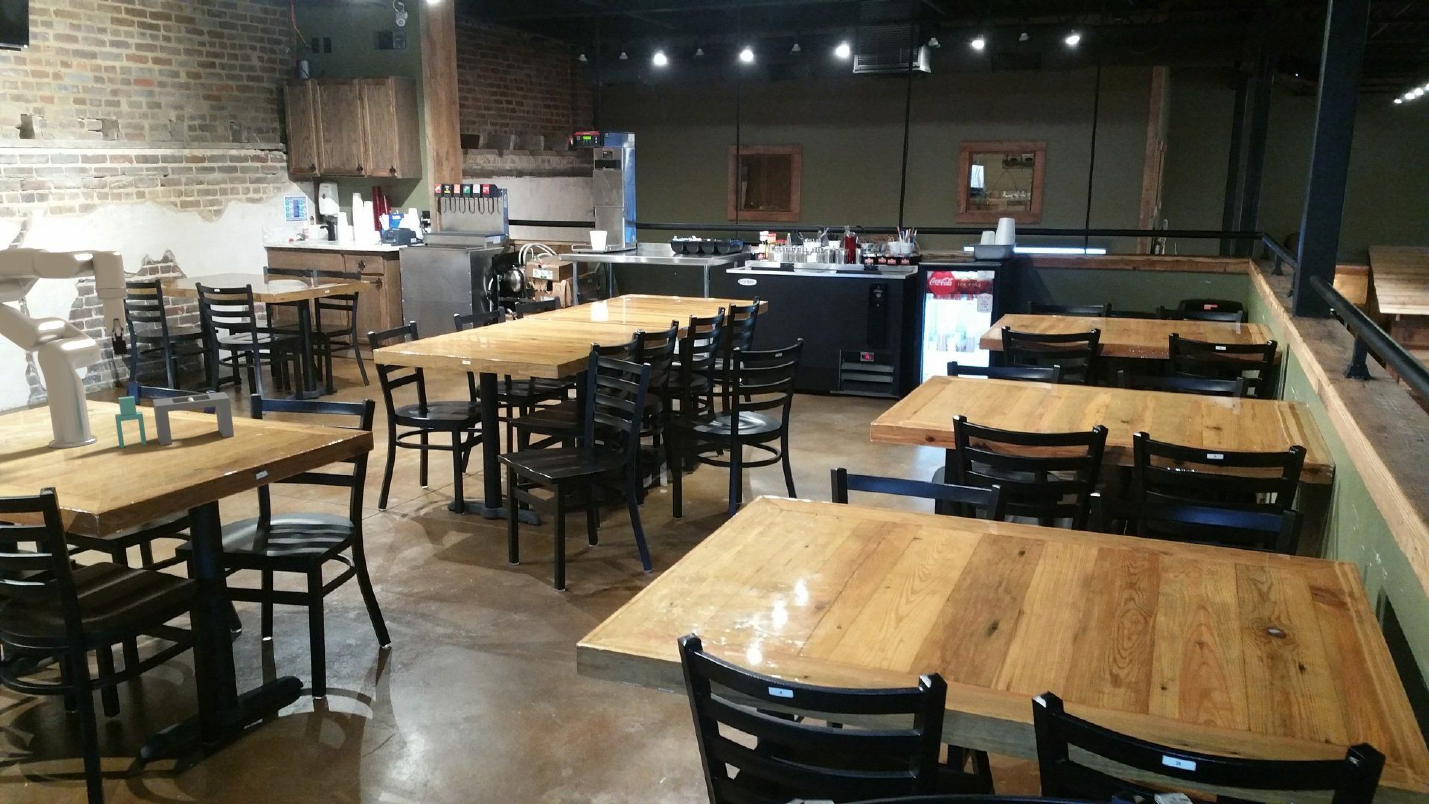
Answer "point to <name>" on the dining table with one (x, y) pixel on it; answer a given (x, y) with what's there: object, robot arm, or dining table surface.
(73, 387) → the robot arm
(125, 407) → the teal arch frame
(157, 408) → the grey table arch
